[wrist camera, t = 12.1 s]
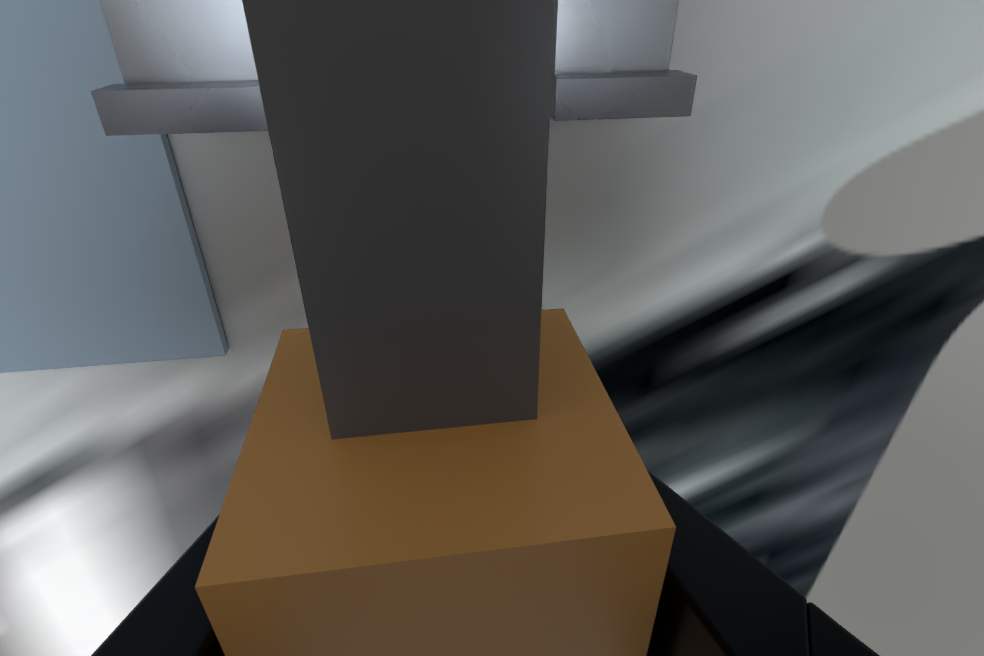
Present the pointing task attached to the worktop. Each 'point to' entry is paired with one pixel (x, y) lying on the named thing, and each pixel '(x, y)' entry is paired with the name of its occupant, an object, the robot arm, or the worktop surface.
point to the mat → (88, 210)
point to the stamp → (426, 363)
